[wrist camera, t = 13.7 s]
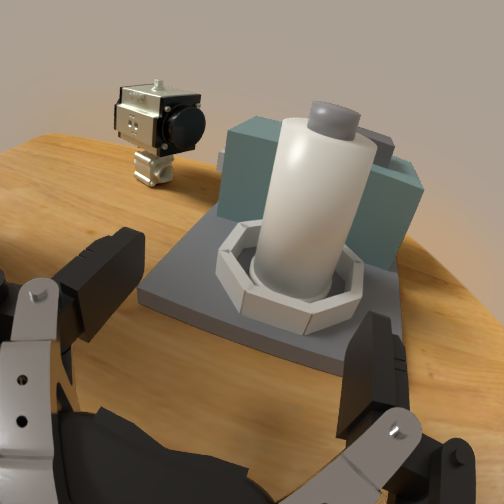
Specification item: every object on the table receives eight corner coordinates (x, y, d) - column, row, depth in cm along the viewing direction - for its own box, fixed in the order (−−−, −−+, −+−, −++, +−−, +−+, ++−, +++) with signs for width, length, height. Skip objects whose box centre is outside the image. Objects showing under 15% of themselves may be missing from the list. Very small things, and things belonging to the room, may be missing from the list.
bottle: (236, 291, 22) (271, 99, 14) (262, 245, 27) (295, 91, 19) (322, 320, 21) (392, 134, 14) (333, 268, 26) (384, 117, 18)
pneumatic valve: (143, 161, 41) (148, 74, 34) (199, 192, 36) (212, 86, 29) (107, 171, 37) (108, 77, 30) (159, 206, 32) (166, 88, 25)
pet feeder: (131, 299, 21) (122, 135, 15) (228, 194, 36) (244, 94, 30) (391, 390, 18) (493, 247, 12) (388, 244, 33) (426, 147, 27)
